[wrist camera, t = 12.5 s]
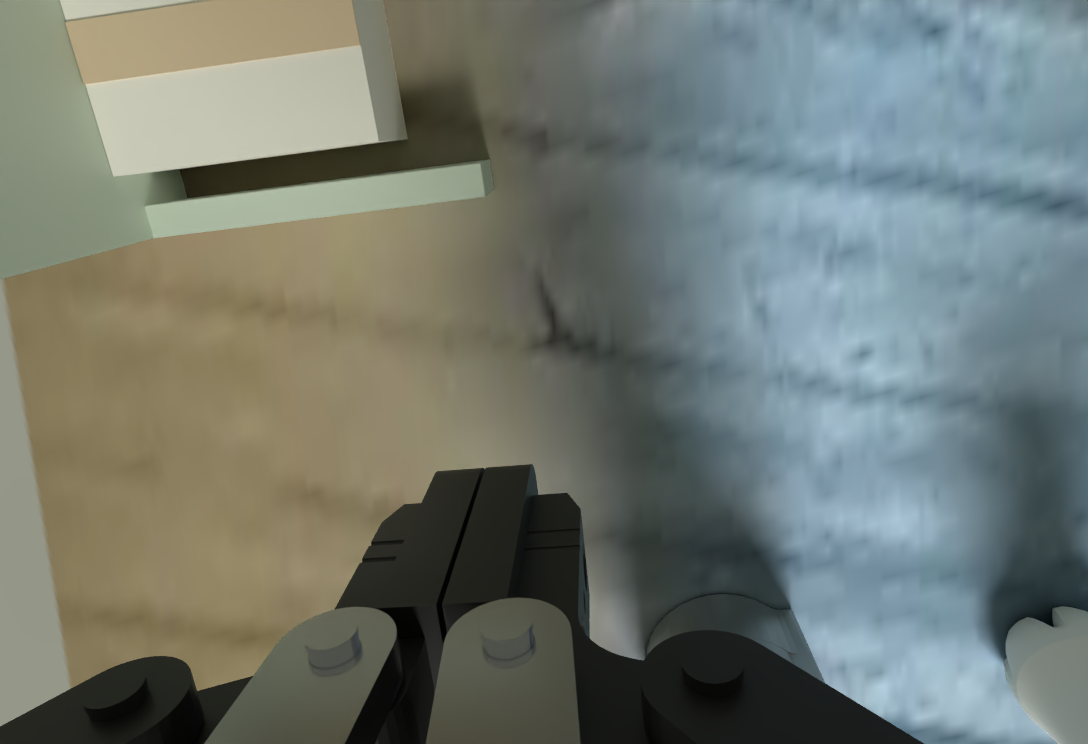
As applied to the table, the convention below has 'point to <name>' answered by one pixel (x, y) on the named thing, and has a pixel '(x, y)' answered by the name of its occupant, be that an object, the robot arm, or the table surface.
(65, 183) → the display stand
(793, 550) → the table surface
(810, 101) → the table surface
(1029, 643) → the water bottle
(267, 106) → the carton
